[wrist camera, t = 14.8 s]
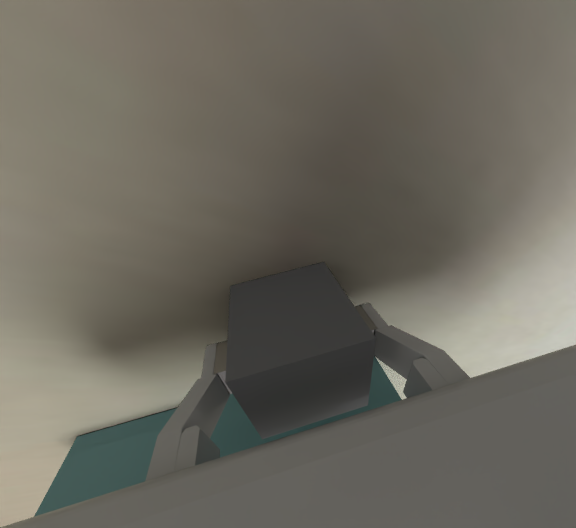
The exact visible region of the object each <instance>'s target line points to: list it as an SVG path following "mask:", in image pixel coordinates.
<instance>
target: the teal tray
mask: <svg viewBox="0 0 576 528" xmlns="http://www.w3.org/2000/svg"><path fill="white" fill-rule="evenodd" d="M229 395H230V396H229V399H228V401H227V403H226V405H225V407H224V409H223V412H222V414H221V416H220V418H219V420H218V422H217V424H216V427H215V429H214V431H213V433H212V435H211V437H210V439H211V440H212V441H213V443H214V444H215V445H216V446H217V447H218V448H219V449H220V457H223V456H227V455H230V454H233V453H236V452H239V451H242V450H245V449H249V448H252V447H255V446H258V445H261V444H264V443H267V442H271V441H274V440H277V439H280V438H283V437H286V436H289V435H293V434H296V433H299V432H302V431H305V430H308V429H312V428H315V427H318V426H321V425H324V424H327V423H330V422H334V421H337V420H340V419H343V418H346V417H349V416H353V415H356V414H359V413H362V412H365V411H368V410H371V409H375V408H378V407H381V406H384V405H387V404H390V403H393V402H397V401H400V400H402V399H401V398H400V396H399V395H398V393H397V391H396V390H395V388H394V386H393V385H392V383H391V382H390V380H389V378H388V377H387V375H386V374H385V372H384V370H383V369H382V367H381V366H380V364H379V362H378V361H377V359H376V358H375V356H374V359H373V367H372V376H371V384H370V392H369V401H368V405H367V406H364V407H361V408H358V409H355V410H352V411H349V412H346V413H343V414H339V415H336V416H333V417H330V418H327V419H324V420H321V421H318V422H315V423H312V424H308V425H305V426H302V427H299V428H296V429H293V430H290V431H287V432H284V433H281V434H277V435H274V436H271V437H268V438H265V439H262V438H261V437H260V435H259V433H258V432H257V430H256V429H255V427H254V426H253V424H252V423H251V421H250V420H249V418H248V417H247V415H246V414H245V412H244V410H243V409H242V407H241V406H240V404H239V403H238V401H237V400H236V398H235V397H234V395H233V394H229ZM176 409H177V408H175V409H172V410H168V411H165V412H161V413H158V414H154V415H151V416H148V417H144V418H141V419H137V420H134V421H130V422H127V423H123V424H120V425H116V426H113V427H109V428H106V429H102V430H99V431H95V432H92V433H88V434H85V435H82V436H78V437H77V438H76V440H75V441H74V443H73V445H72V447H71V449H70V451H69V453H68V454H67V456H66V458H65V460H64V462H63V464H62V466H61V468H60V469H59V471H58V473H57V475H56V477H55V479H54V481H53V482H52V484H51V486H50V488H49V490H48V492H47V494H46V495H45V497H44V499H43V501H42V503H41V505H40V507H39V509H38V510H37V512H36V514H35V516H38V515H41V514H44V513H47V512H50V511H54V510H57V509H60V508H63V507H66V506H69V505H72V504H76V503H79V502H82V501H85V500H88V499H91V498H94V497H98V496H101V495H104V494H107V493H110V492H113V491H116V490H120V489H123V488H126V487H129V486H132V485H135V484H138V483H142V482H145V480H146V477H147V473H148V469H149V466H150V462H151V458H152V455H153V451H154V447H155V444H156V440H157V436H158V434H159V433H160V432H161V430H162V429H163V427H164V426H165V425H166V423H167V422H168V420H169V419H170V418H171V416H172V415H173V413H174V412H175V411H176ZM35 516H34V517H35Z"/></svg>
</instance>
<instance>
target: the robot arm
mask: <svg viewBox="0 0 576 528" xmlns="http://www.w3.org/2000/svg"><path fill="white" fill-rule="evenodd" d="M354 307H355V308H356V309H357V311H358V312H359V314H360V315H361V317H362V318H363V320H364V321H365V323H366V324H367V326H368V327H369V329H370V330H371V331H372V333H373V334H374V336H375V337H376V342H375V351H374V356H375V357H377V358H378V359H379V360H381V361H382V362H383V363H385V364H386V365H388V366H389V367H390V368H392V369H393V370H395V371H396V372H397V373H399V374H400V375H401V376H403V377H404V378H406V379H407V381H406V384H405V387H404V391H403V393H404V394H405V396H406V397H407V398H406V399H403V400H400V401H397V402H393V403H390V404H387V405H384V406H381V407H378V408H375V409H371V410H368V411H365V412H362V413H359V414H356V415H353V416H349V417H346V418H343V419H340V420H337V421H334V422H330V423H327V424H324V425H321V426H318V427H315V428H312V429H308V430H305V431H302V432H299V433H296V434H293V435H289V436H286V437H283V438H280V439H277V440H274V441H271V442H267V443H264V444H261V445H258V446H255V447H252V448H249V449H245V450H242V451H239V452H236V453H233V454H230V455H227V456H223V457H220V449H219V448H218V447H217V446H216V445H215V444H214V443H213V441H212V440H211V439H210V437H211V435H212V433H213V431H214V429H215V427H216V424H217V422H218V420H219V418H220V416H221V414H222V412H223V409H224V407H225V405H226V403H227V401H228V399H229V396H230V395H229V394H232V392H231V391H230V389H229V387H228V386H227V384H226V383H225V378H226V359H227V340H226V341H222V342H218V343H214V344H210V345H207V347H206V349H205V356H204V362H203V369H202V375H201V378H200V379H198V380H197V381H196V382H195V384H194V385H193V387H192V388H191V389H190V391H189V392H188V394H187V395H186V396H185V398H184V399H183V401H182V402H181V403H180V405H179V406H178V408H177V409H176V411H175V412H174V413H173V415H172V416H171V418H170V419H169V420H168V422H167V423H166V425H165V426H164V427H163V429H162V430H161V432H160V433H159V434H158V436H157V440H156V444H155V447H154V451H153V455H152V458H151V462H150V466H149V469H148V473H147V477H146V480H145V482H142V483H138V484H135V485H132V486H129V487H126V488H123V489H120V490H116V491H113V492H110V493H107V494H104V495H101V496H98V497H94V498H91V499H88V500H85V501H82V502H79V503H76V504H72V505H69V506H66V507H63V508H60V509H57V510H54V511H50V512H47V513H44V514H41V515H38V516H35V517H32V518H28V519H25V520H22V521H19V522H16V523H13V524H10V525H6V526H3V527H0V528H576V345H573V346H570V347H567V348H564V349H561V350H557V351H554V352H551V353H548V354H545V355H542V356H538V357H535V358H532V359H529V360H526V361H523V362H520V363H516V364H513V365H510V366H507V367H504V368H501V369H498V370H494V371H491V372H488V373H485V374H482V375H479V376H475V377H472V378H470V377H469V376H468V375H467V374H466V373H465V372H464V371H463V370H462V369H461V368H460V367H459V366H458V365H457V364H456V363H455V362H454V361H453V360H452V358H451V357H450V356H449V355H448V354H447V353H446V352H445V351H444V350H442V349H440V348H437V347H435V346H433V345H431V344H429V343H427V342H425V341H423V340H421V339H419V338H417V337H415V336H412V335H410V334H408V333H406V332H404V331H402V330H400V329H398V328H396V327H394V326H392V325H390V326H388V325H387V324H386V322H385V321H384V320H383V319H382V317H381V316H380V315H379V314H378V312H377V311H376V310H375V309H374V308H373V306H372V305H371V304H370V303H366V304H362V305H358V306H354Z"/></svg>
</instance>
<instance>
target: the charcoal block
mask: <svg viewBox="0 0 576 528" xmlns="http://www.w3.org/2000/svg"><path fill="white" fill-rule="evenodd" d="M375 342H376V337H375V336H374V334H373V333H372V331H371V330H370V329H369V327H368V326H367V324H366V323H365V321H364V320H363V318H362V317H361V315H360V314H359V312H358V311H357V309H356V308H355V307H354V305H353V304H352V302H351V301H350V299H349V298H348V296H347V295H346V293H345V292H344V290H343V289H342V288H341V286H340V285H339V283H338V282H337V280H336V279H335V277H334V276H333V274H332V273H331V271H330V270H329V268H328V267H327V266H326V264H325V263H324V262H321V263H317V264H313V265H309V266H306V267H302V268H298V269H294V270H290V271H286V272H282V273H278V274H274V275H270V276H267V277H263V278H259V279H255V280H251V281H247V282H243V283H239V284H235V285H232V286H230V301H229V320H228V340H227V359H226V378H225V383H226V384H227V386H228V387H229V389H230V391H231V392H232V394H233V395H234V397H235V398H236V400H237V401H238V403H239V404H240V406H241V407H242V409H243V410H244V412H245V414H246V415H247V417H248V418H249V420H250V421H251V423H252V424H253V426H254V427H255V429H256V430H257V432H258V433H259V435H260V437H261V438H262V439H265V438H268V437H271V436H274V435H277V434H281V433H284V432H287V431H290V430H293V429H296V428H299V427H302V426H305V425H308V424H312V423H315V422H318V421H321V420H324V419H327V418H330V417H333V416H336V415H339V414H343V413H346V412H349V411H352V410H355V409H358V408H361V407H364V406H367V405H368V401H369V392H370V384H371V376H372V367H373V359H374V351H375Z"/></svg>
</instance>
